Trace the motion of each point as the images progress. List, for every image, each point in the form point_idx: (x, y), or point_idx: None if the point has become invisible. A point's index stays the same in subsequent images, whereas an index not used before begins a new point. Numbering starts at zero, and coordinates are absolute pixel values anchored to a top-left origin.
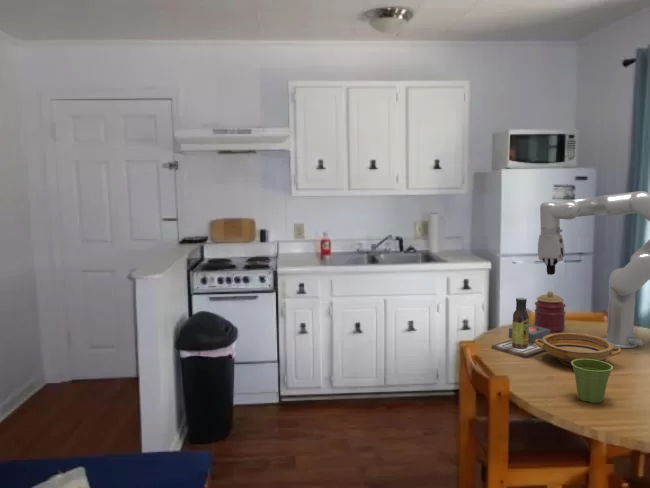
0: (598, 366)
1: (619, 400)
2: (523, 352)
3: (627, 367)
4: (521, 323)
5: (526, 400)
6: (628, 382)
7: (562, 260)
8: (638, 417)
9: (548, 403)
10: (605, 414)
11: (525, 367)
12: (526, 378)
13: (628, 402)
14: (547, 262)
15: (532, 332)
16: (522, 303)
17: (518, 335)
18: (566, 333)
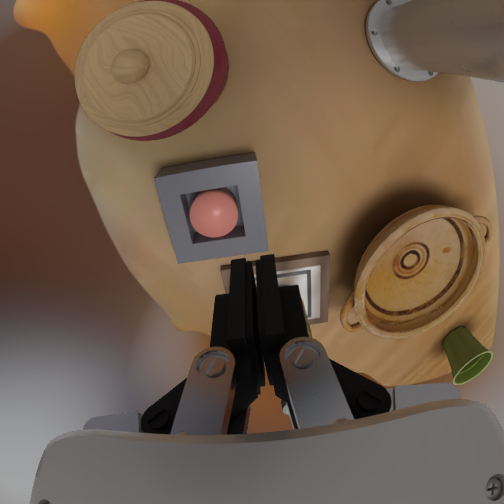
0: (476, 350)
1: (478, 313)
2: (313, 316)
3: (476, 198)
4: None
5: (401, 384)
6: (484, 259)
7: (448, 396)
8: (491, 325)
9: (421, 373)
10: None
11: (351, 341)
12: (375, 360)
13: (485, 309)
14: (247, 422)
15: (250, 237)
16: None
17: None
18: (385, 250)
